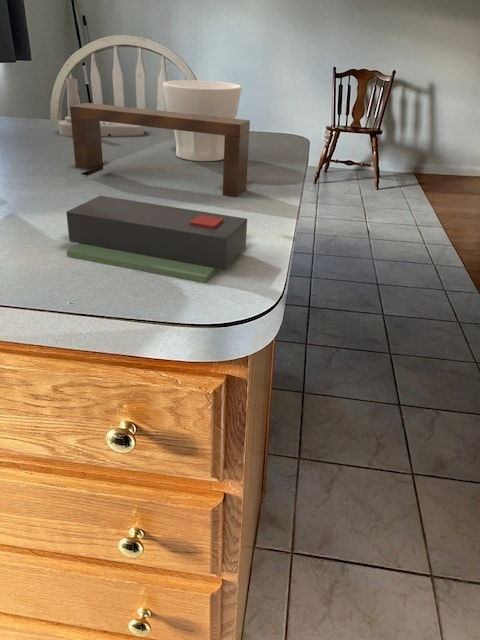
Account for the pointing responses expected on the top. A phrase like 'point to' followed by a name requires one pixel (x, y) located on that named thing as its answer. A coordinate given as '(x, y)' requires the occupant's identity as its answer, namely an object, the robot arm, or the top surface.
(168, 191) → the top surface
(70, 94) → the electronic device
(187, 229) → the remote
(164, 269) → the mat
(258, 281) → the top surface
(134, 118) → the brown wooden arch
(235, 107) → the cup
